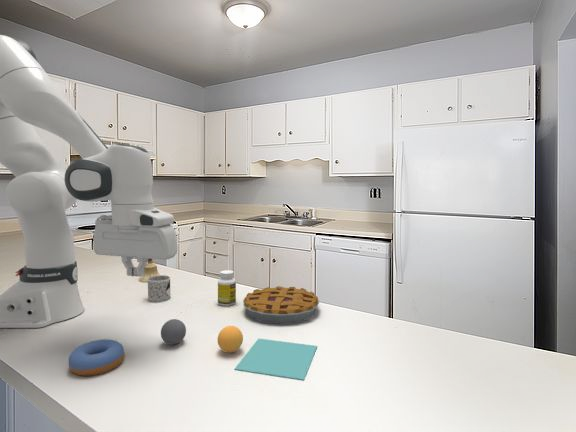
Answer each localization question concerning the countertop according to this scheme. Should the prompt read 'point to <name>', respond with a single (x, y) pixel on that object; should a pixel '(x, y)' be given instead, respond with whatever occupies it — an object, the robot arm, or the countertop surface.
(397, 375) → the countertop surface
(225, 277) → the supplement bottle
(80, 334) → the countertop surface
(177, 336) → the ball
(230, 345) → the ball
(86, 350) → the doughnut
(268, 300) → the pie
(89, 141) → the robot arm
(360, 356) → the countertop surface
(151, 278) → the mug
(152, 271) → the hand bell
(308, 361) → the mark
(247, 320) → the countertop surface
